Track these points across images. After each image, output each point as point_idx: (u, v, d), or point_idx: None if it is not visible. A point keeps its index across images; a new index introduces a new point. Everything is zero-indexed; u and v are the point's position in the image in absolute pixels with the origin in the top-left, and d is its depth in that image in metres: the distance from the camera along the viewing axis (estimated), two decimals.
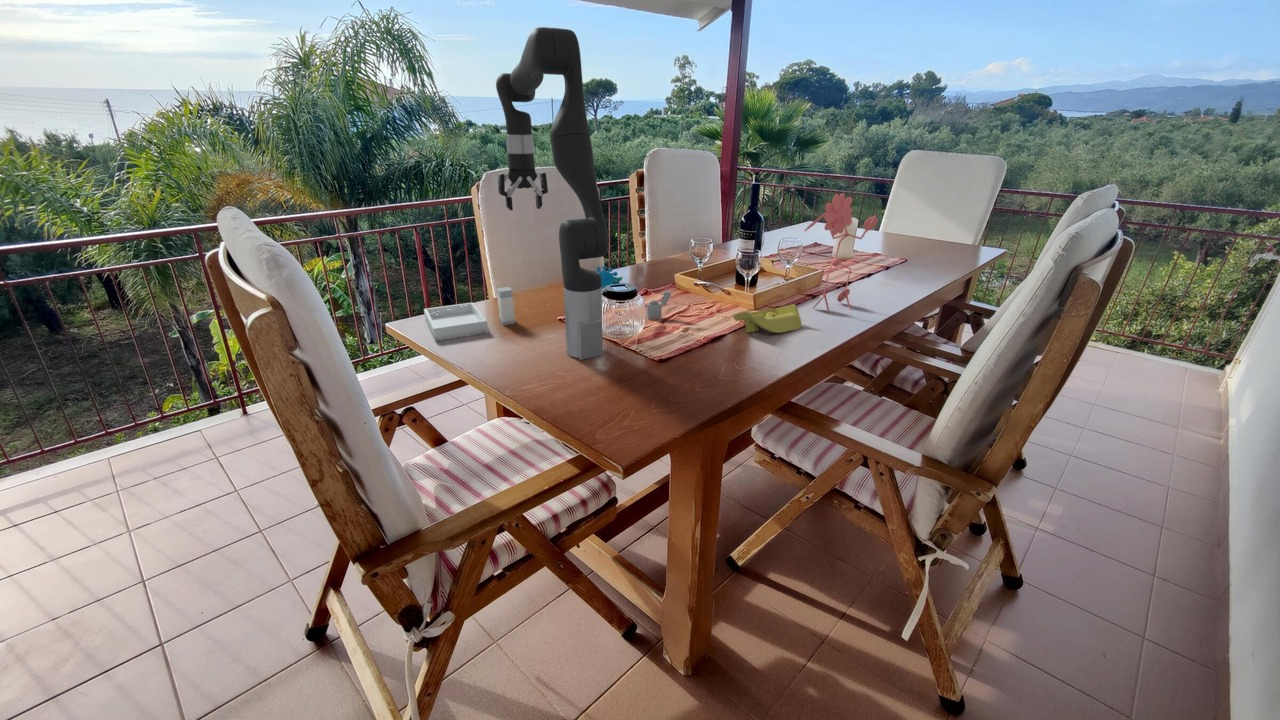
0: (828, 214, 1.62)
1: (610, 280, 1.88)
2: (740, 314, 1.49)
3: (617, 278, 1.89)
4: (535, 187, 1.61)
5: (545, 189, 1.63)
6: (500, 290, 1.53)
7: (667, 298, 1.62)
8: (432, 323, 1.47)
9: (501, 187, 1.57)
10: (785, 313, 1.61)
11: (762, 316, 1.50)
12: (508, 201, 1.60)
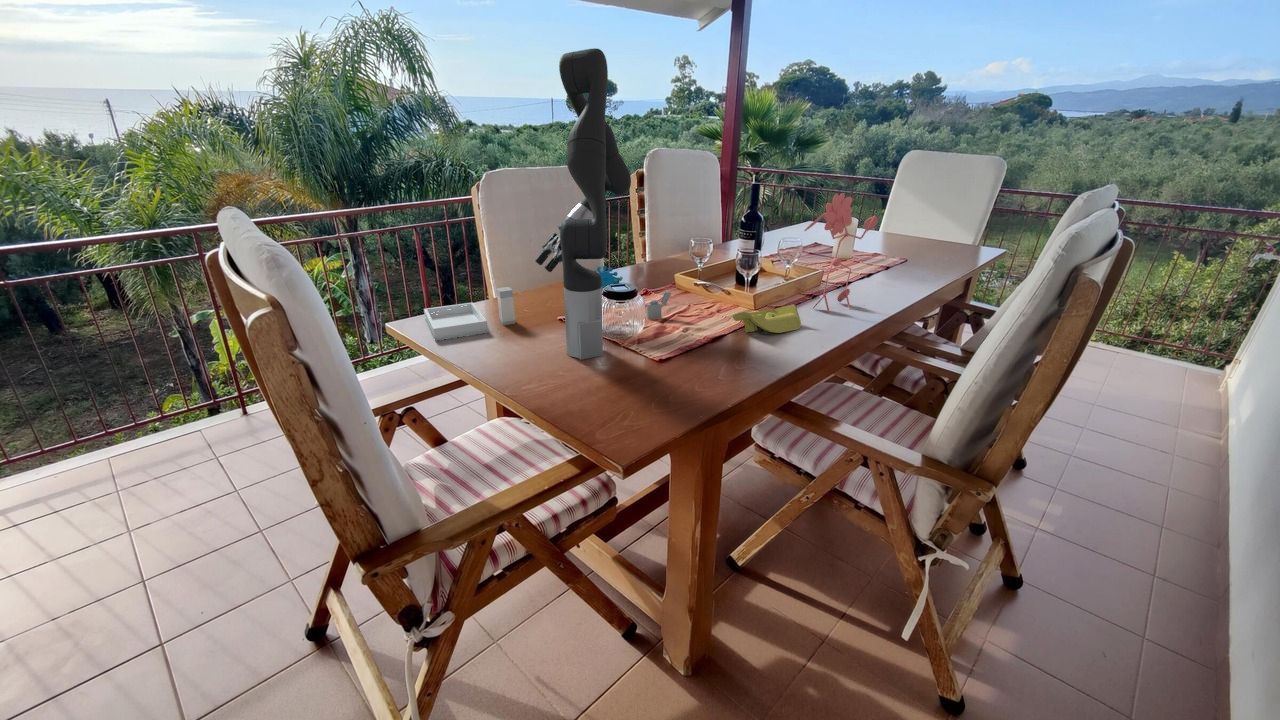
0: (828, 214, 1.62)
1: (610, 280, 1.88)
2: (739, 314, 1.49)
3: (617, 278, 1.90)
4: (555, 248, 1.54)
5: (559, 254, 1.51)
6: (500, 290, 1.53)
7: (667, 298, 1.62)
8: (432, 323, 1.47)
9: (546, 241, 1.62)
10: (785, 313, 1.61)
11: (761, 316, 1.50)
12: None
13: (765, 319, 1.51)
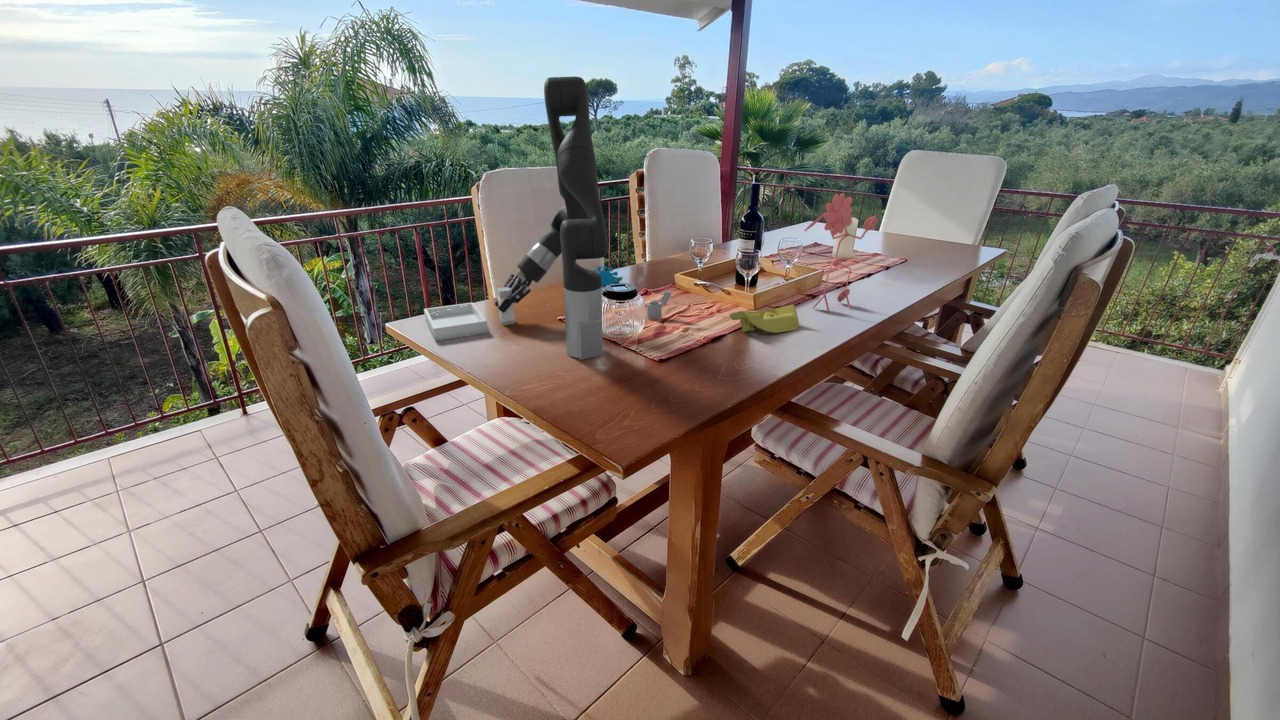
0: (828, 214, 1.62)
1: (610, 280, 1.89)
2: (735, 313, 1.50)
3: (617, 278, 1.90)
4: (511, 288, 1.53)
5: (512, 295, 1.52)
6: (500, 290, 1.53)
7: (667, 298, 1.62)
8: (432, 323, 1.47)
9: (505, 284, 1.59)
10: (784, 313, 1.60)
11: (758, 316, 1.51)
12: None
13: (762, 319, 1.52)
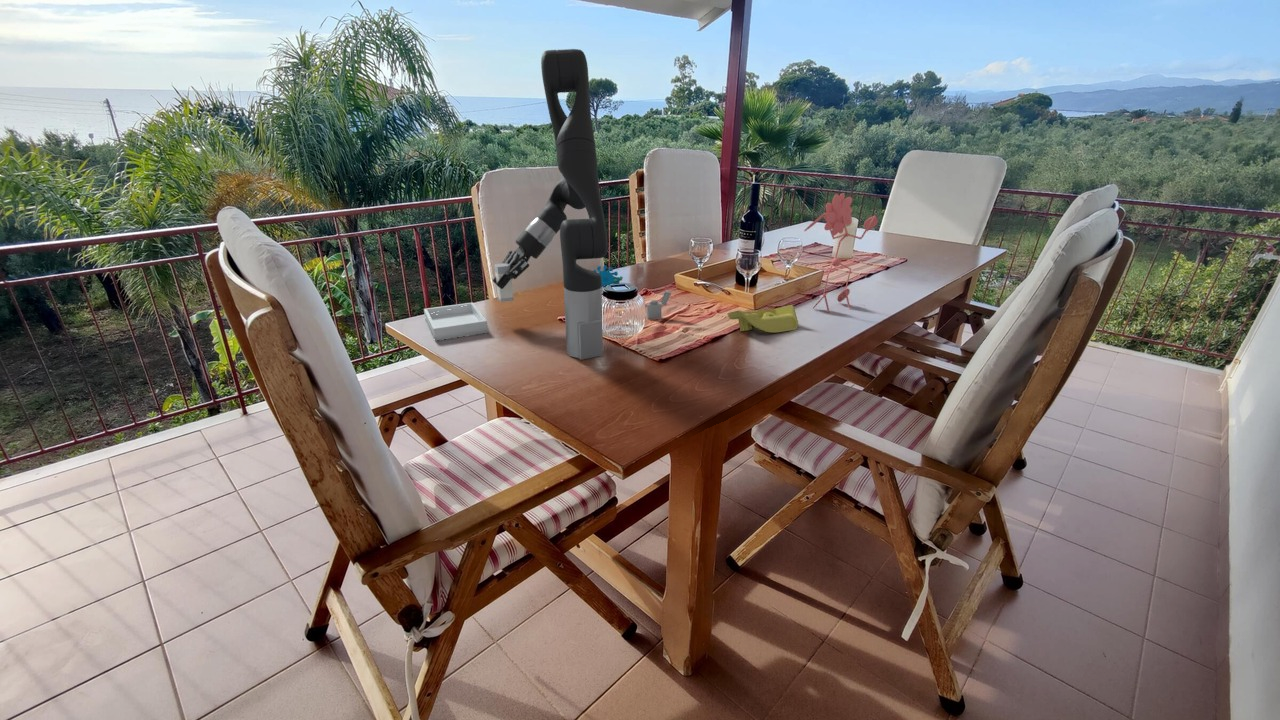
0: (828, 214, 1.62)
1: (610, 280, 1.89)
2: (733, 312, 1.50)
3: (617, 278, 1.90)
4: (509, 264, 1.50)
5: (510, 270, 1.49)
6: (498, 266, 1.50)
7: (667, 298, 1.62)
8: (432, 323, 1.47)
9: (503, 261, 1.57)
10: (783, 314, 1.60)
11: (756, 315, 1.51)
12: None
13: (760, 318, 1.52)
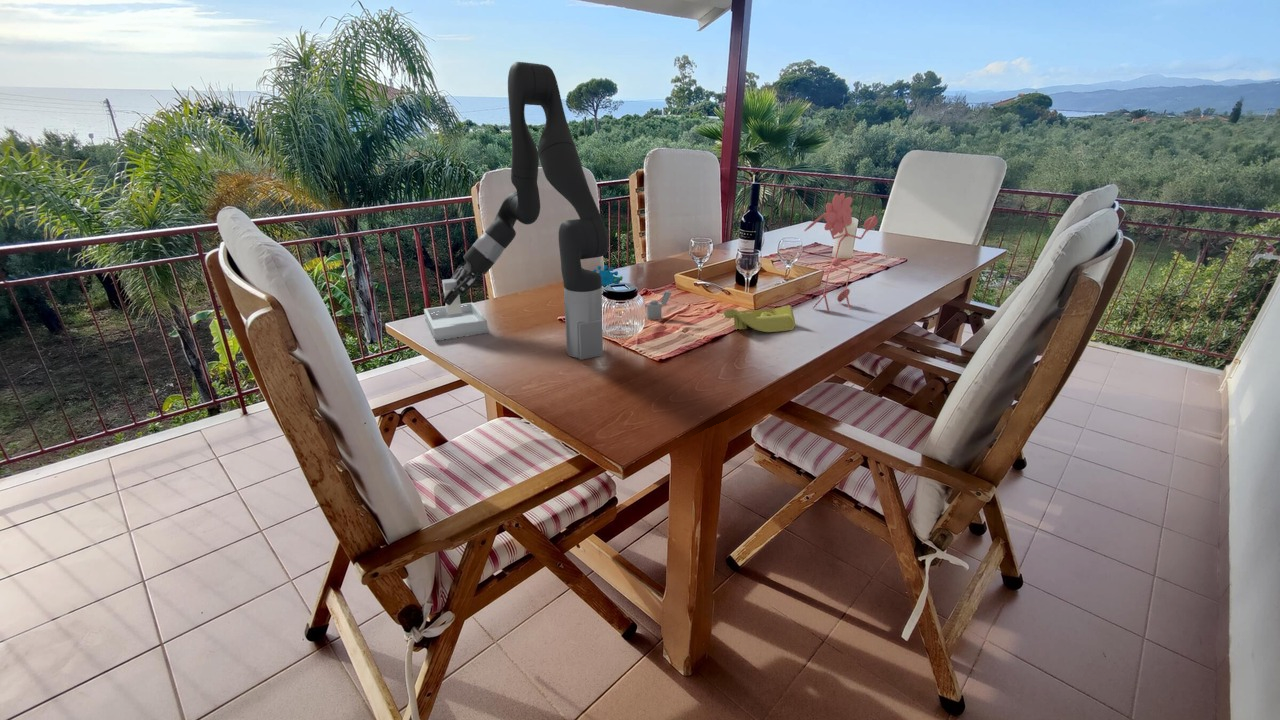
0: (828, 214, 1.62)
1: (609, 279, 1.89)
2: (728, 311, 1.52)
3: (617, 277, 1.90)
4: (456, 280, 1.49)
5: (457, 287, 1.47)
6: (445, 282, 1.48)
7: (667, 298, 1.62)
8: (432, 323, 1.47)
9: (452, 276, 1.55)
10: (781, 314, 1.60)
11: (750, 314, 1.52)
12: None
13: (755, 318, 1.52)
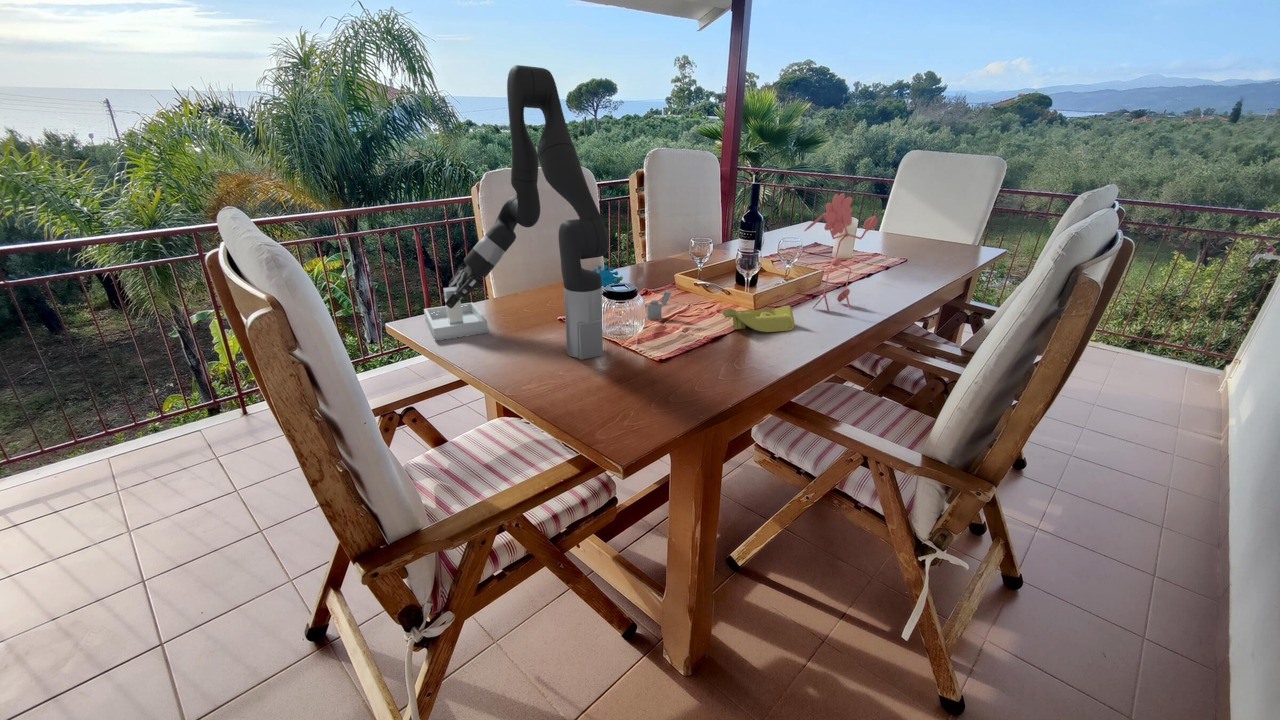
0: (828, 214, 1.62)
1: (609, 279, 1.89)
2: (726, 310, 1.52)
3: (617, 277, 1.90)
4: (458, 283, 1.48)
5: (459, 290, 1.46)
6: (446, 290, 1.49)
7: (667, 298, 1.62)
8: (432, 323, 1.47)
9: None
10: (781, 314, 1.60)
11: (749, 314, 1.52)
12: None
13: (753, 317, 1.53)
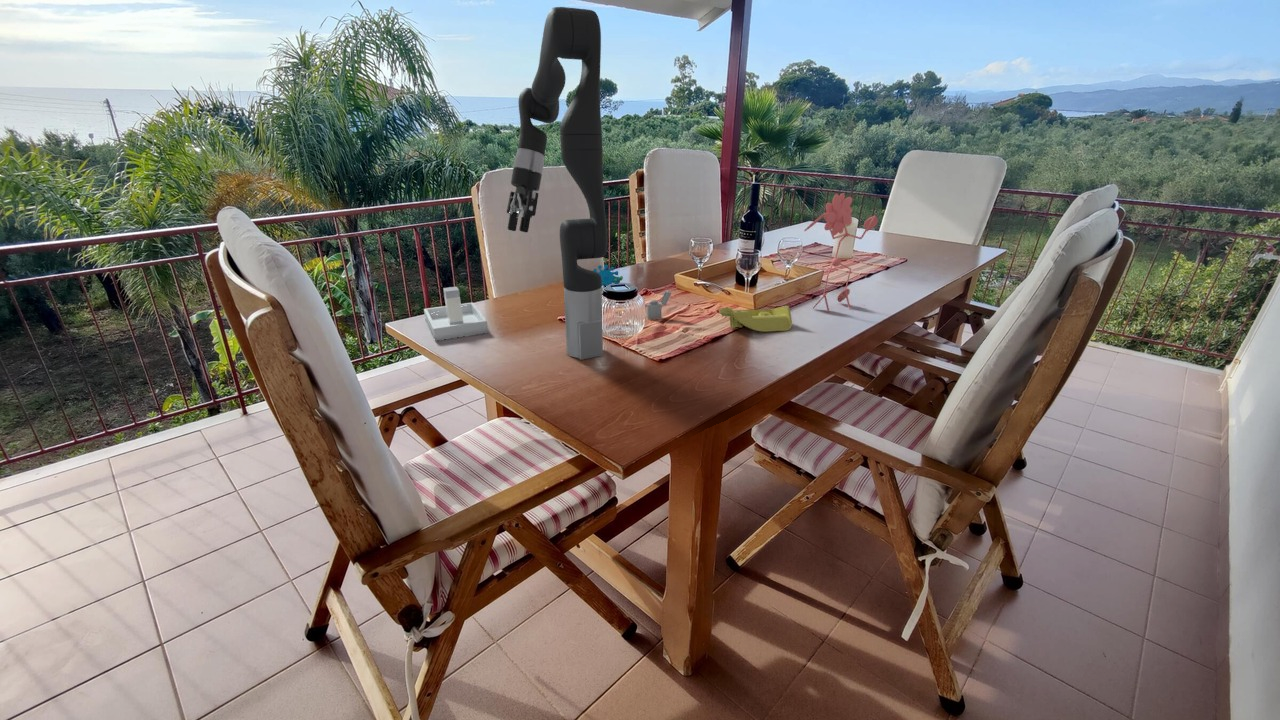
0: (828, 214, 1.62)
1: (609, 279, 1.90)
2: (723, 309, 1.53)
3: (617, 277, 1.90)
4: (520, 205, 1.42)
5: (526, 209, 1.40)
6: (446, 290, 1.49)
7: (667, 298, 1.62)
8: (432, 323, 1.47)
9: (508, 205, 1.51)
10: (780, 314, 1.60)
11: (745, 313, 1.52)
12: None
13: (750, 317, 1.53)
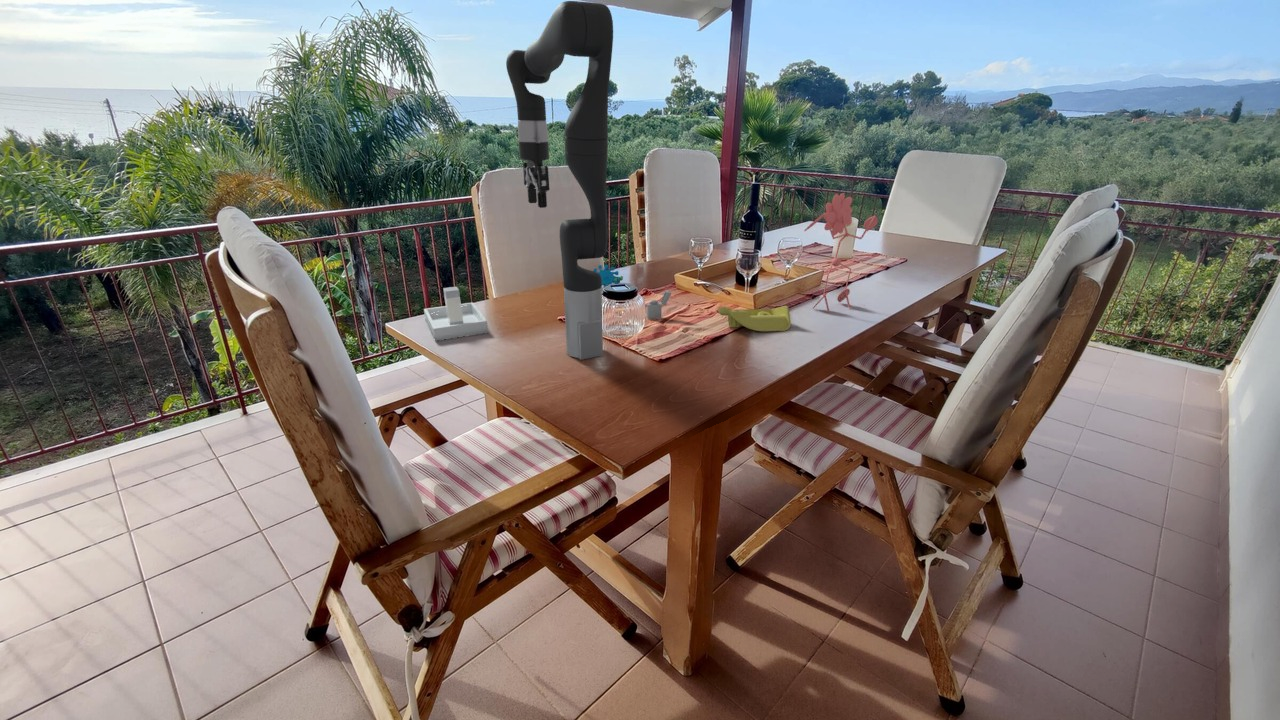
0: (828, 214, 1.62)
1: (609, 279, 1.90)
2: (721, 308, 1.54)
3: (617, 277, 1.90)
4: (533, 181, 1.40)
5: (539, 186, 1.38)
6: (446, 290, 1.49)
7: (667, 298, 1.62)
8: (432, 323, 1.47)
9: (524, 176, 1.48)
10: (779, 314, 1.60)
11: (743, 313, 1.53)
12: None
13: (748, 316, 1.53)
